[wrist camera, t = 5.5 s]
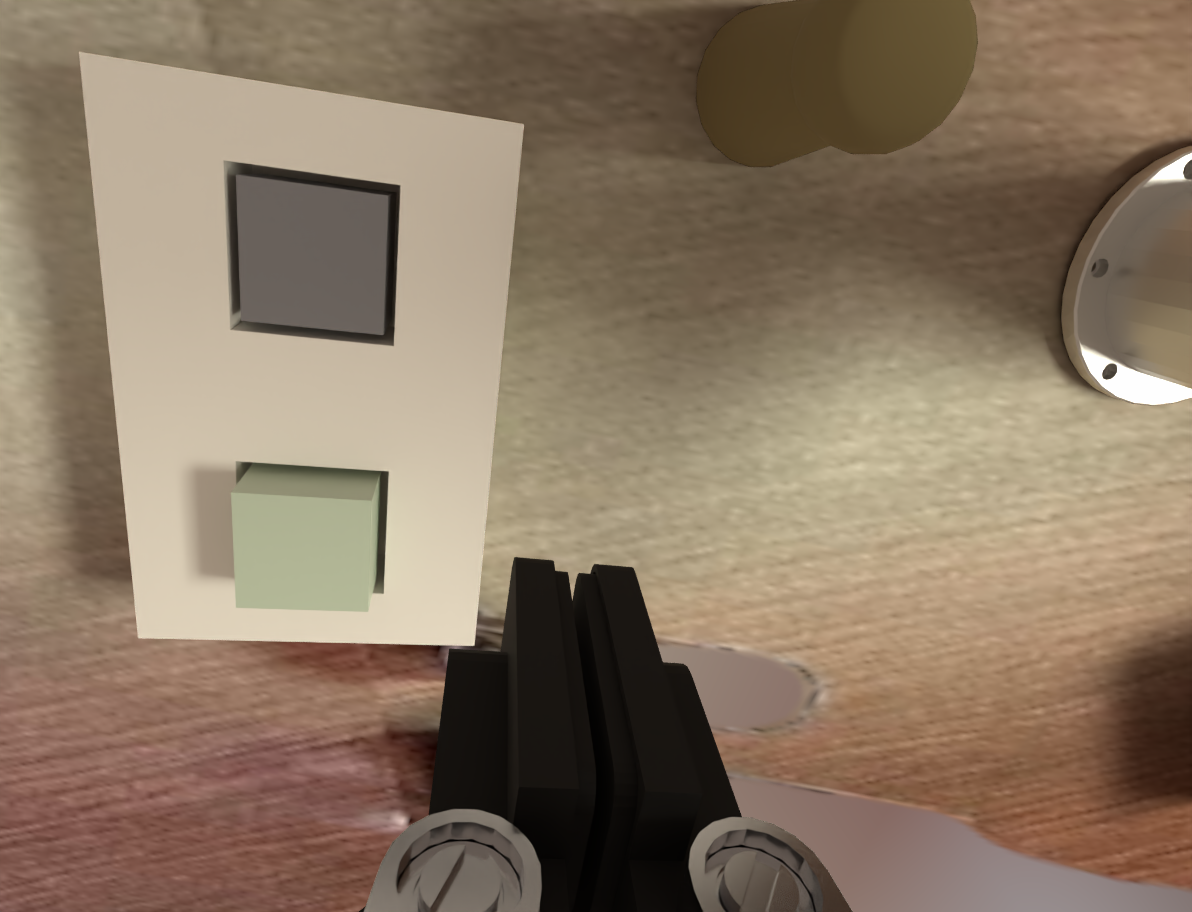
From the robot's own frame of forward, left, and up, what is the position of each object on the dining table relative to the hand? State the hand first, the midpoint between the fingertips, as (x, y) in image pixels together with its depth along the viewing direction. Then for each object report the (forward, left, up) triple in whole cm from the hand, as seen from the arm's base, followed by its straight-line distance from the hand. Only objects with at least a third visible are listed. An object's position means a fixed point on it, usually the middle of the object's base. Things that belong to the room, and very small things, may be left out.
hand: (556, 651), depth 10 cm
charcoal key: (+7, -2, -23) cm, 24 cm away
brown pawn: (-10, -11, -24) cm, 28 cm away
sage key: (+7, +9, -21) cm, 23 cm away
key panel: (+7, +3, -24) cm, 25 cm away
